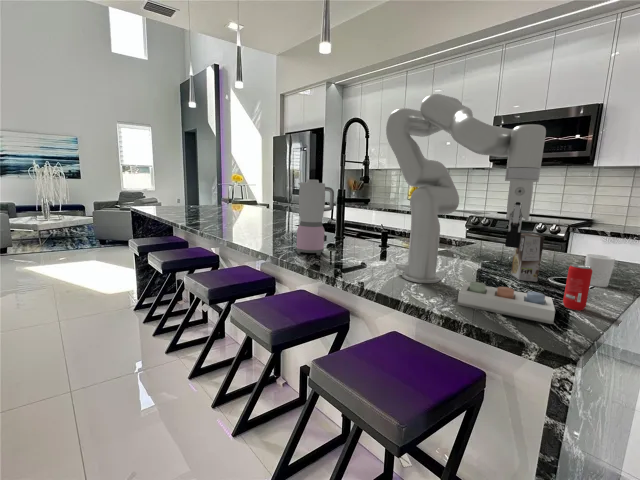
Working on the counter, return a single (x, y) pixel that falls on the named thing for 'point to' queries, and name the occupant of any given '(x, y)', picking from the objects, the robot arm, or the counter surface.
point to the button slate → (535, 297)
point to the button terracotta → (505, 292)
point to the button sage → (477, 287)
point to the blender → (312, 216)
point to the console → (507, 304)
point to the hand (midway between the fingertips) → (512, 245)
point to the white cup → (600, 269)
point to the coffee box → (527, 257)
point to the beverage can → (577, 287)
